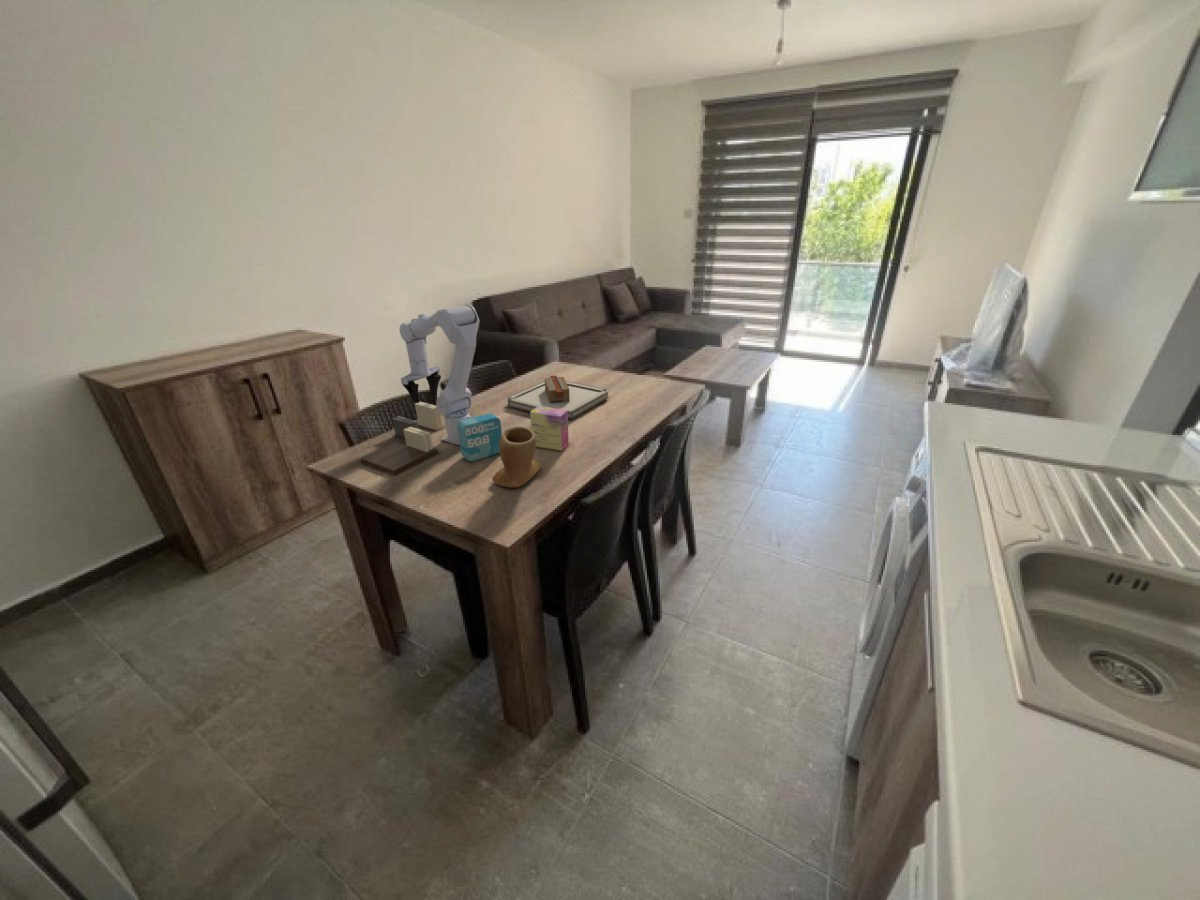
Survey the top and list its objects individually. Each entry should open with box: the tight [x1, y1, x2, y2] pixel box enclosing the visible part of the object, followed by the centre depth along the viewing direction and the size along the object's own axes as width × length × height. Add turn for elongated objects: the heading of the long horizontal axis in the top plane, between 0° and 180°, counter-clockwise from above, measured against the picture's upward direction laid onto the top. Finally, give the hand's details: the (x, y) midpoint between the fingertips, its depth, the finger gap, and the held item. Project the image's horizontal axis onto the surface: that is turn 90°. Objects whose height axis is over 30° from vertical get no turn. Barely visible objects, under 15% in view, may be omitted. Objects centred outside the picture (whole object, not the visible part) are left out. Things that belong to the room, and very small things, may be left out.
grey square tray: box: [507, 375, 609, 420], centre depth 185 cm, size 30×30×8 cm
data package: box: [457, 412, 503, 463], centre depth 144 cm, size 12×4×12 cm, turn 126°
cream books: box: [403, 427, 434, 452], centre depth 147 cm, size 9×3×6 cm, turn 59°
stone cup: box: [491, 425, 543, 488], centre depth 131 cm, size 15×12×15 cm
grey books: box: [391, 415, 420, 439], centre depth 157 cm, size 9×3×6 cm, turn 59°
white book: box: [414, 401, 443, 431], centre depth 164 cm, size 9×2×8 cm, turn 59°
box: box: [529, 406, 569, 452], centre depth 150 cm, size 10×6×12 cm, turn 71°
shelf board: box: [360, 438, 439, 476], centre depth 145 cm, size 15×16×2 cm
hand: (425, 398), depth 162 cm, fingers open, 7 cm apart
